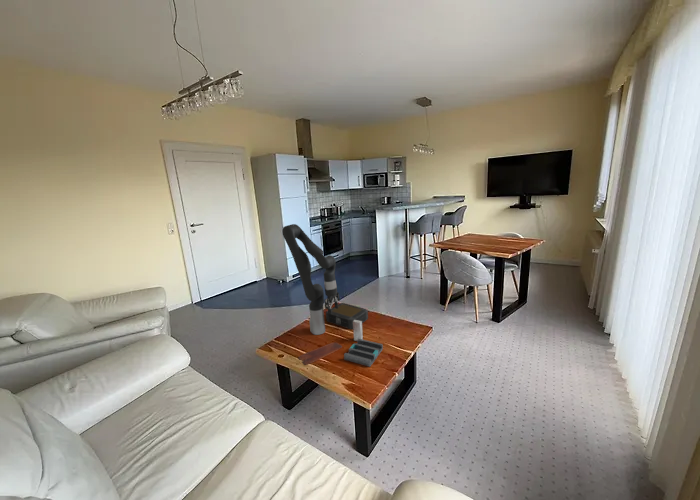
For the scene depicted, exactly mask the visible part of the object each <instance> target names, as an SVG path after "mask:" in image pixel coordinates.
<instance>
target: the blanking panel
mask: <svg viewBox="0 0 700 500" xmlns="http://www.w3.org/2000/svg"><path fill="white" fill-rule="evenodd" d="M352 330H353V341H355V342H357V340H358V338H359V339H363V338H364V337H363V323H362V321H358V320H354V321H353V329H352ZM363 340H364V339H363Z"/></svg>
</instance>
